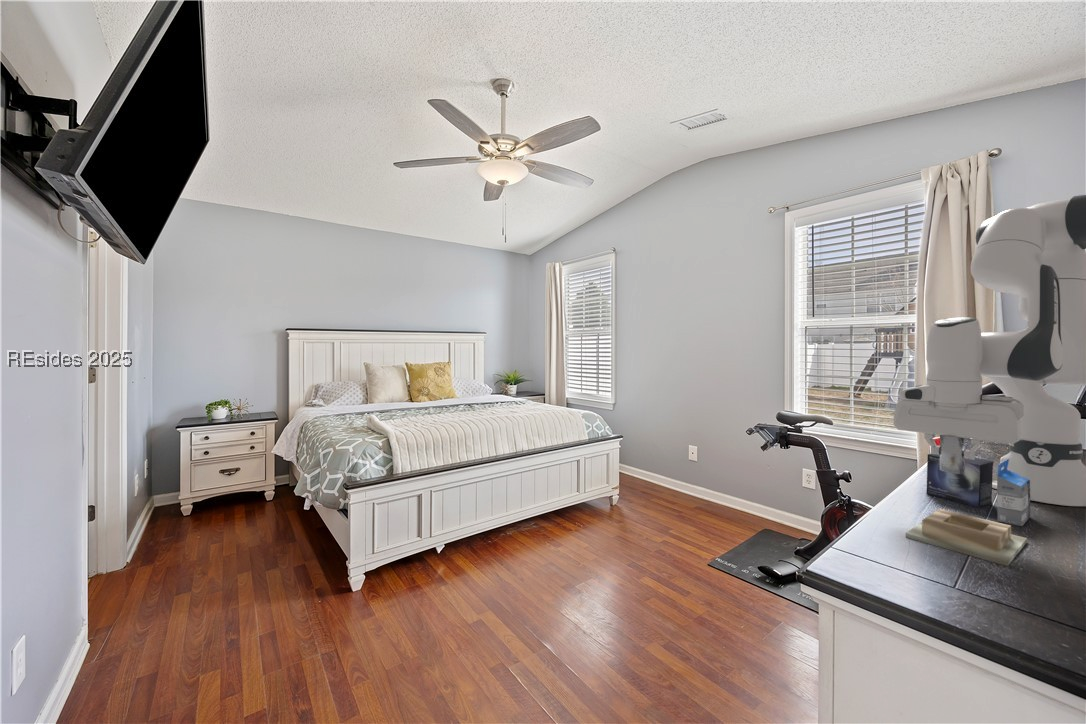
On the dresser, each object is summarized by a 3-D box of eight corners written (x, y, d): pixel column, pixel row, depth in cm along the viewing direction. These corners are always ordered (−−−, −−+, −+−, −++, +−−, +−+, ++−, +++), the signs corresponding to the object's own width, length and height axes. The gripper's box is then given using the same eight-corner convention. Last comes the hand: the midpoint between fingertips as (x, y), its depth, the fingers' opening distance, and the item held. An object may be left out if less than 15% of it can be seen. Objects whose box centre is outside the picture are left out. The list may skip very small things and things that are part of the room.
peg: (942, 467, 98) (943, 431, 98) (967, 471, 95) (967, 434, 95) (937, 470, 96) (937, 434, 96) (961, 474, 93) (962, 437, 92)
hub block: (932, 518, 96) (932, 503, 96) (1026, 542, 84) (1027, 525, 84) (905, 536, 87) (906, 520, 87) (1007, 566, 75) (1008, 547, 75)
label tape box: (1022, 527, 91) (1024, 468, 91) (994, 520, 94) (996, 464, 94) (1031, 517, 96) (1033, 462, 96) (1004, 512, 99) (1006, 458, 99)
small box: (924, 494, 111) (925, 453, 111) (938, 490, 114) (939, 450, 114) (978, 508, 102) (980, 463, 101) (993, 504, 104) (994, 460, 104)
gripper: (1027, 395, 88) (1025, 463, 89) (900, 388, 105) (900, 445, 106) (1020, 399, 84) (1018, 470, 85) (890, 390, 101) (890, 450, 102)
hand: (952, 456), depth 95 cm, fingers closed on peg, 4 cm apart
